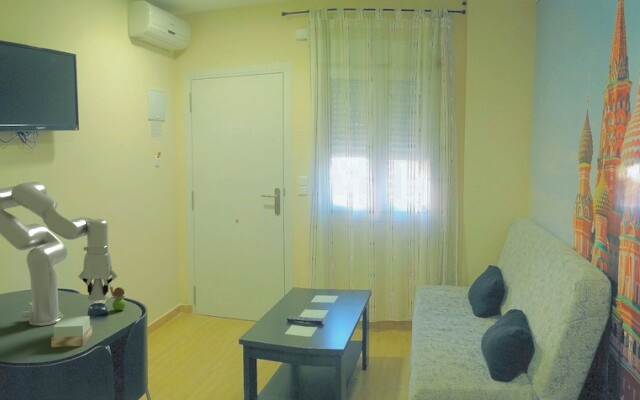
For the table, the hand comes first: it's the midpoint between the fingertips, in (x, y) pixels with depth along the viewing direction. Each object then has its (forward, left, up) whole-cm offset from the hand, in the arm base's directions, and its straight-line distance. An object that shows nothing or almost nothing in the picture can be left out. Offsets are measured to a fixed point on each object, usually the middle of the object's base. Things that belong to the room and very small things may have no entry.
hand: (98, 293), depth 212 cm
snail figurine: (+4, +15, -13) cm, 20 cm away
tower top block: (-5, -18, -9) cm, 20 cm away
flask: (0, 0, -2) cm, 2 cm away
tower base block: (-5, -17, -13) cm, 22 cm away
